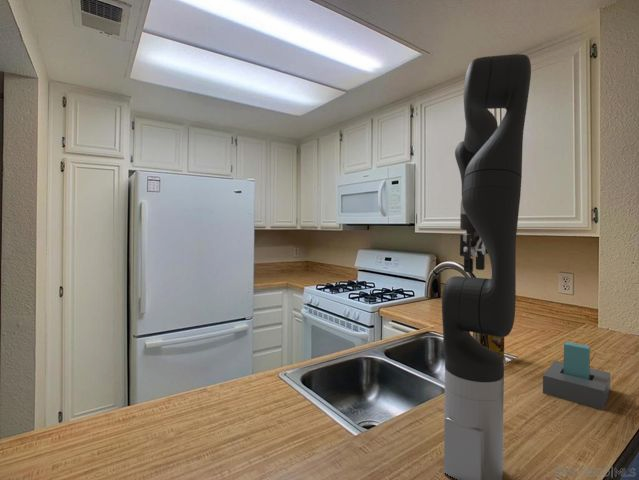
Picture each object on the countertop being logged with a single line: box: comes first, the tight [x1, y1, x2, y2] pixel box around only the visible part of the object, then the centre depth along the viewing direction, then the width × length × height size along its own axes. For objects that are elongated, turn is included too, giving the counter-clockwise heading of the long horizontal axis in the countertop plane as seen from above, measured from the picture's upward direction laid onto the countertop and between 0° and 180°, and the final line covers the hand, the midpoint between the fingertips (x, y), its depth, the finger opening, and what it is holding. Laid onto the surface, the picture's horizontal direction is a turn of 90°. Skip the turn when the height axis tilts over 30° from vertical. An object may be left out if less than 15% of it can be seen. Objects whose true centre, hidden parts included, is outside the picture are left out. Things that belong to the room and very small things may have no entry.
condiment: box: [488, 335, 506, 364], centre depth 111 cm, size 7×8×12 cm
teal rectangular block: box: [563, 341, 591, 380], centre depth 87 cm, size 3×5×12 cm, turn 45°
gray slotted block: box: [542, 360, 611, 411], centre depth 87 cm, size 14×12×4 cm
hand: (474, 270), depth 95 cm, fingers open, 8 cm apart
